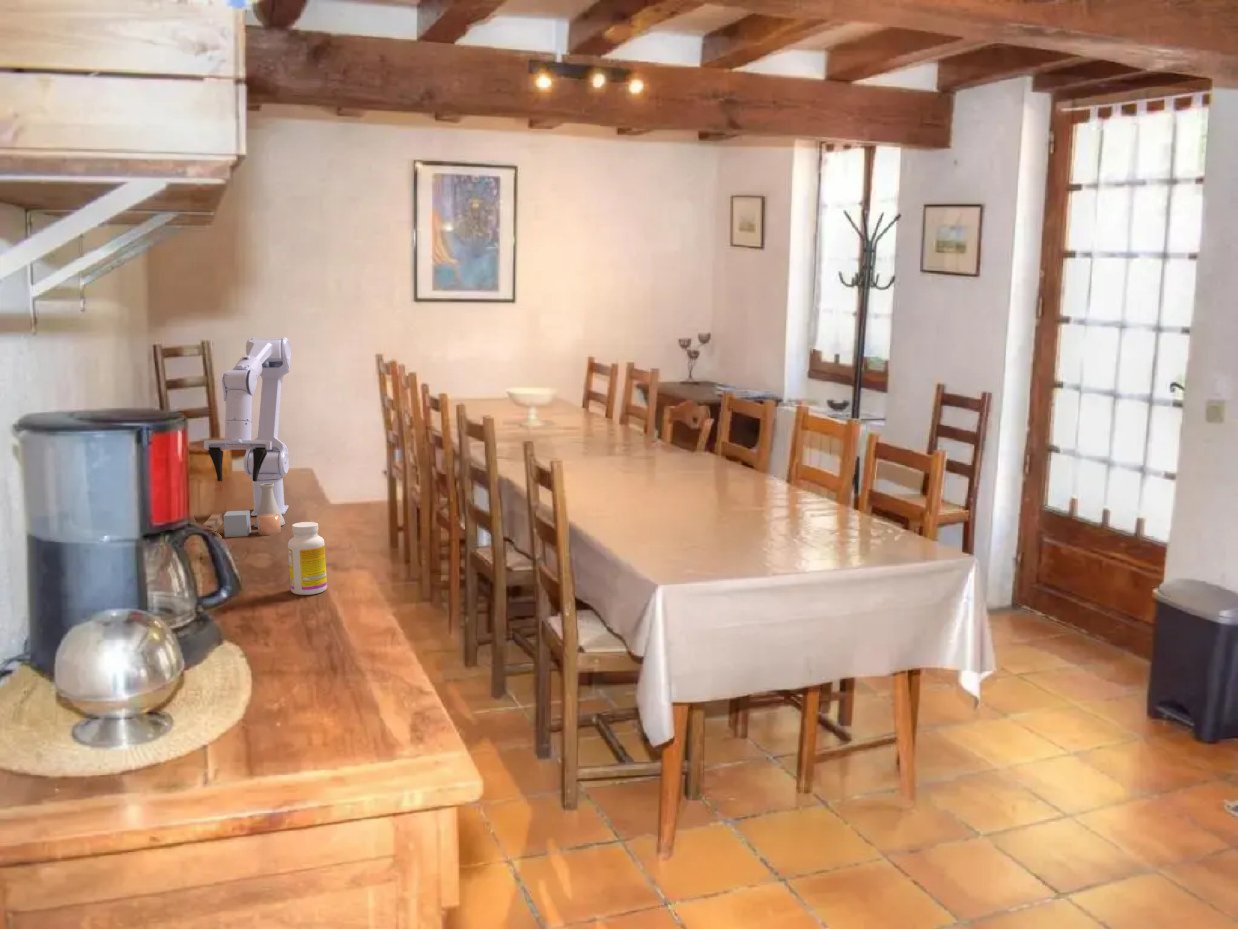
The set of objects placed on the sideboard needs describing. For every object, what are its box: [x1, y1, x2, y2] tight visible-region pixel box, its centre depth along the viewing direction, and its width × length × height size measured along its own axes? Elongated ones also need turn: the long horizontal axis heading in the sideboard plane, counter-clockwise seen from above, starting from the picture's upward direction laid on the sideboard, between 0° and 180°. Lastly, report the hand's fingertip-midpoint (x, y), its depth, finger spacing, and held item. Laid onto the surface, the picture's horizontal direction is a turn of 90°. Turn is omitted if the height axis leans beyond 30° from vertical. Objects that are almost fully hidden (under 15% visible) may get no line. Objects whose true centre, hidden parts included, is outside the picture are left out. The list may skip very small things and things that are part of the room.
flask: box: [253, 483, 286, 528], centre depth 266 cm, size 7×7×10 cm
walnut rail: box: [202, 512, 224, 532], centre depth 262 cm, size 14×2×2 cm, turn 9°
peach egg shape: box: [256, 514, 282, 536], centre depth 259 cm, size 5×5×4 cm
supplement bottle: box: [287, 521, 328, 596], centre depth 211 cm, size 7×7×13 cm
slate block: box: [222, 509, 252, 538], centre depth 258 cm, size 5×5×5 cm
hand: (237, 481), depth 256 cm, fingers open, 7 cm apart
